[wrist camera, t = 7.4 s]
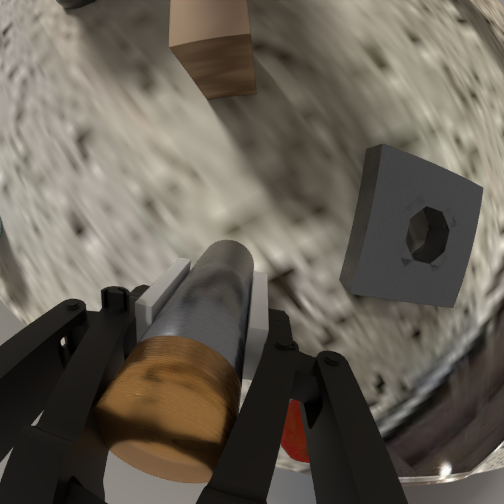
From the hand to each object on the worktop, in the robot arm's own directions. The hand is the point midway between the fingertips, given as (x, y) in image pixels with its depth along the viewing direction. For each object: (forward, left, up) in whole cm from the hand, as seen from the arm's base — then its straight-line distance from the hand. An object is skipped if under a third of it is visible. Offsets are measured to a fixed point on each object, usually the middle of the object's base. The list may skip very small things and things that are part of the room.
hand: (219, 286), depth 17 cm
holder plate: (+18, +5, -11) cm, 22 cm away
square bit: (-4, +17, -11) cm, 21 cm away
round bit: (0, 0, -4) cm, 4 cm away
